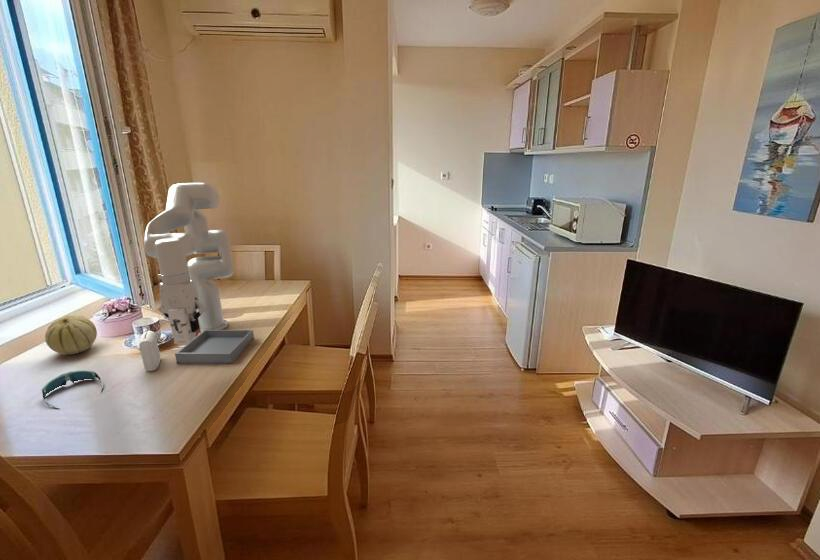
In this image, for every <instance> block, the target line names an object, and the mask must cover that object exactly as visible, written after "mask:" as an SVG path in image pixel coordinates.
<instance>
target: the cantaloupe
mask: <svg viewBox="0 0 820 560" xmlns="http://www.w3.org/2000/svg"><path fill="white" fill-rule="evenodd" d="M97 335H98V330H97V327H96V325H95V324H94V322H93V321H91V320H90V319H89V318H87V317H85V316H82V315H76V314H73V315H66V316H62V317H59V318H57V319H56V320H54V321H53V322H51V323H50V325H49V326H48V328H47V330H46V332H45V334H44V336H45V337H44V339H45V341H44V342H45V343H46V345H47V347H48V348H49V349H51V350H52V351H53V352H55V353H56V354H57V353H58V354H61V355H66V354H70V355H75V353H77V354H79V352H80V353H82V351H83V352H84V350H85V351H87V350H88V349H89V348H90V347H91V346H92V345H93V344H94V343H95V341H96V339H97Z"/></svg>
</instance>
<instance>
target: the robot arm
mask: <svg viewBox="0 0 820 560" xmlns="http://www.w3.org/2000/svg"><path fill="white" fill-rule="evenodd" d="M166 199H167V200H166V204H165V210H164V211H162V212H161V213H159V214H158V215H156V216H155V217H154V218H153V219H151V220H150V221H149V222H148V224H147V225H146V228H145V231H144V236H143V243H142V244H143V250H144V253H145V254H146V255H147V256H148V257H150V258H153V259H156V260H157V265H158V270H159V274H157V278H158V279H161V282H160V283H159V301H160V302H159V303H160V306H159V308H158V311H159V312H160V313H161V314H162V315H163V316H165V317H166V318H168V321H169V322H170V320H169V316H168V310H170V309H185V312H186V314H188V315H189V317H190V319H191V321H190V325H191V330H192V332H196V331H197V330H198V329H199V325H200V330H201V332H202V331H204V330H225V329H226V328H227V327H228V326H229V321H228V320H227V319H224V313H223V307H222V301H221V296H220V289H219V286H218V285H217V284H216V283H215V281H213V280H216V279H225V278H230V277H232V276H233V274H234V270H235V267H234V260H233V254H232V247H231V240H230V237H229V234H228V233H227V231H225V230H224V229H209V228H208V221H207V220H208V219H207V217H206V216H205V215H204V213H203V212H202V211H201V210H212V209H213V210H214V209H217V208H218V207H219V205H220V195H219V191H218V190H217V189H216V188H215V187H214V186H212V185H211V184H209V183H206V182H185V183H184V182H182V183H176V184H175V183H174V184H172V185H171V186H170V187H169V188H168V193H167V198H166ZM180 228H181V229H182V228H184V229H183V231H184V232H173V231H176V230H178V229H180ZM214 253H215V254H216V253H217V254H219V255H212V256H210V255H209V256H197V257H193V258H191V259H189V260H188V261H187V257H189V256H191V255H193V254H194V255H201V254H214ZM193 314H194V315H193ZM198 320H199V321H198ZM201 332H200V333H201Z"/></svg>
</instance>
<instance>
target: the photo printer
mask: <svg viewBox="0 0 820 560" xmlns="http://www.w3.org/2000/svg"><path fill="white" fill-rule="evenodd" d="M138 346H139V350H140V356H141V360H142V363H143V367H144V370H145V371H146V372H154V371H155V370H157V369H158V368H159V366H160V363H161V358H162V357H161V353H160V349H159V344H158V339H157V336H156V334H155V332H154V331H152V330H148V331H147V330H146V331H145V332H143V333H142V334H141V336H140V337H139V341H138Z"/></svg>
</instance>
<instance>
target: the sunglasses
mask: <svg viewBox="0 0 820 560" xmlns="http://www.w3.org/2000/svg"><path fill="white" fill-rule="evenodd" d="M84 379H96V380H97V379H98V381H99V382H100V383H101V389H100V391H102V392H103V390H104V386H105V385H104V382H103V380H102V379H101V377H100V376H99V374H98V373H97V372H96V371H95V370H90V369H89V370H88V369H80V370H79V369H78V370H71V371H68V372H63V373H62V374H59V375H57V376H55V377H53V378H52V379H51V380H49V381H48V382H47V383H45V385H43V387H42V388H41V392H42V393H41V394H42V399H44V402H45V404H46V405H47V406H48V407H50V406H52V407H57V406H55V405H53V404H52V403H50V402H49V401H48V397H45V396H46V394H47V393H49V392H50V391H52V390H54V389H55V388H57V387H59V386H62V385H66V386H67V382H68V381H70V382H71V383H72V384H74V381H78V380H84ZM102 389H103V390H102ZM52 407H51V408H52Z"/></svg>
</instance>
